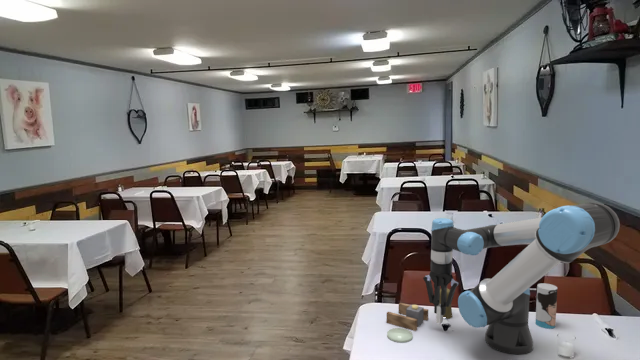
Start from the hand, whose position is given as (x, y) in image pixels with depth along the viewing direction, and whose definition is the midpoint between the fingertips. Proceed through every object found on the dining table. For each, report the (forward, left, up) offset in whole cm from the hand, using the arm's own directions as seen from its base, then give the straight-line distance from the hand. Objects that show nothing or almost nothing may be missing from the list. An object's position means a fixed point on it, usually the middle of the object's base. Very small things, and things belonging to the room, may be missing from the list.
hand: (439, 322), depth 158 cm
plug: (+10, 0, -3) cm, 10 cm away
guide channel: (+13, 0, -3) cm, 13 cm away
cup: (-31, -27, -3) cm, 41 cm away
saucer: (+10, +13, -3) cm, 17 cm away
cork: (+3, -13, -3) cm, 14 cm away
